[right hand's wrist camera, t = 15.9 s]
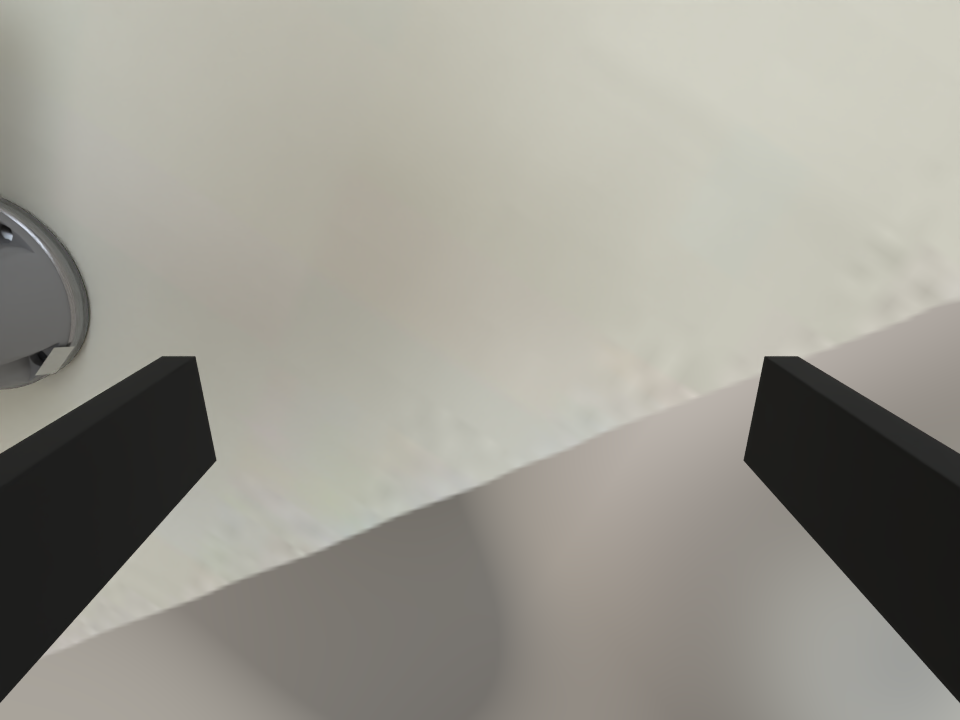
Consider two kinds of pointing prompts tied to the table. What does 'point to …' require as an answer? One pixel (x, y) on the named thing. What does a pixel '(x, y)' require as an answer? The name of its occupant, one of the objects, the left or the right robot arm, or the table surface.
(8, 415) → the table surface
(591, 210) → the table surface
